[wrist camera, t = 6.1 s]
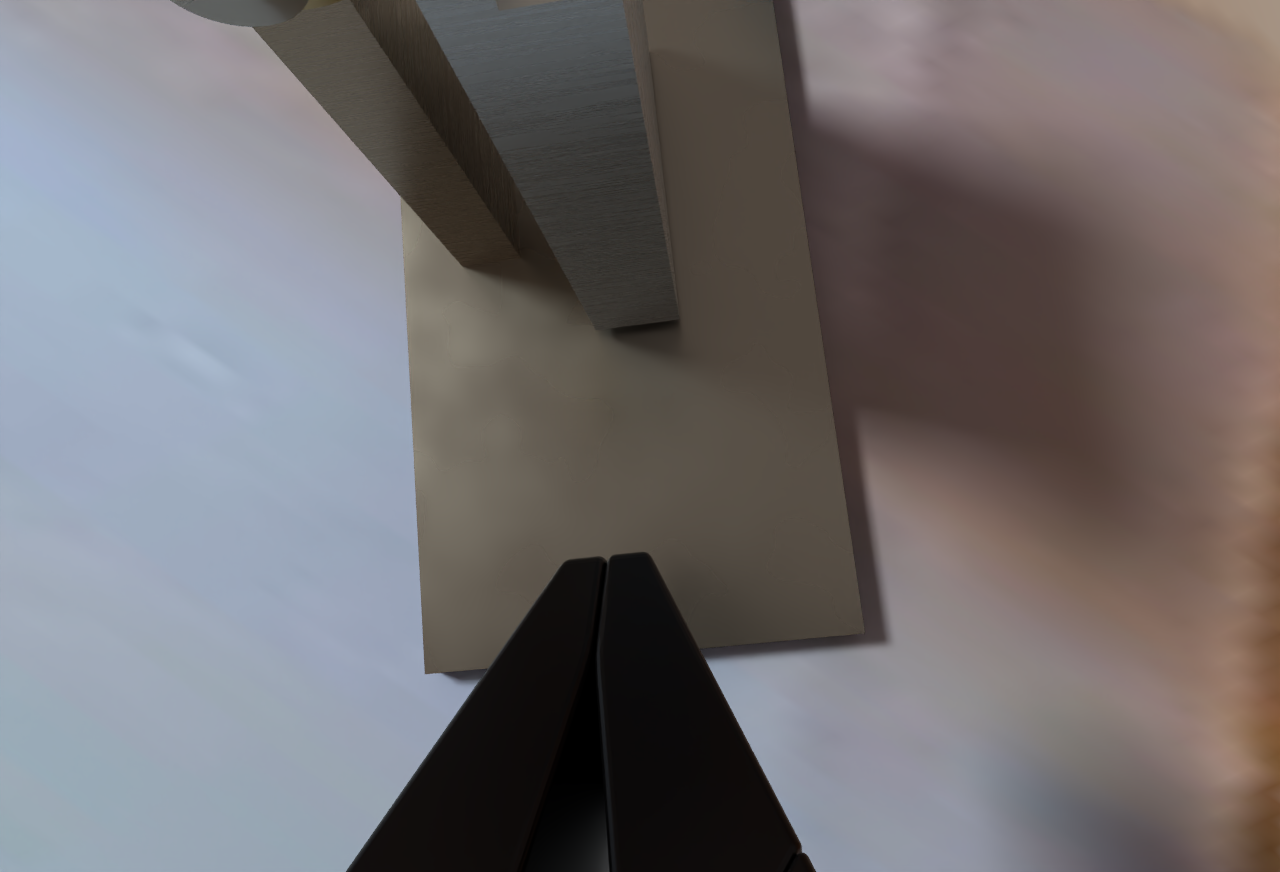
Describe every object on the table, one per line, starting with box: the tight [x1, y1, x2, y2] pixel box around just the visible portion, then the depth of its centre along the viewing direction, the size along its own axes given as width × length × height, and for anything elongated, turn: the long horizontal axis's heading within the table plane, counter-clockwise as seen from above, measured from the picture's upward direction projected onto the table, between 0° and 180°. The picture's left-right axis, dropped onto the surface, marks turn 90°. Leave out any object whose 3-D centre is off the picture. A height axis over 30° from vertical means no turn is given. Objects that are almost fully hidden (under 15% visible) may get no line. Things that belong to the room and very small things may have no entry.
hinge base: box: [253, 0, 865, 674], centre depth 10 cm, size 14×8×12 cm, turn 6°
